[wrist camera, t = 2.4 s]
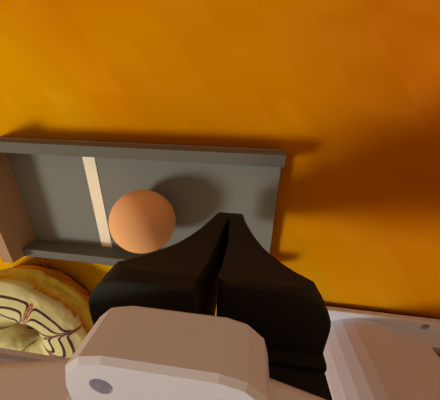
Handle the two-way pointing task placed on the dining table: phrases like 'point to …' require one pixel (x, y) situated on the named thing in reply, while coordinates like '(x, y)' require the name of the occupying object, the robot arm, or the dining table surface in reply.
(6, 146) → the lane
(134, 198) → the ball
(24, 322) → the decorated donut
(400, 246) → the dining table surface
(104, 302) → the robot arm
